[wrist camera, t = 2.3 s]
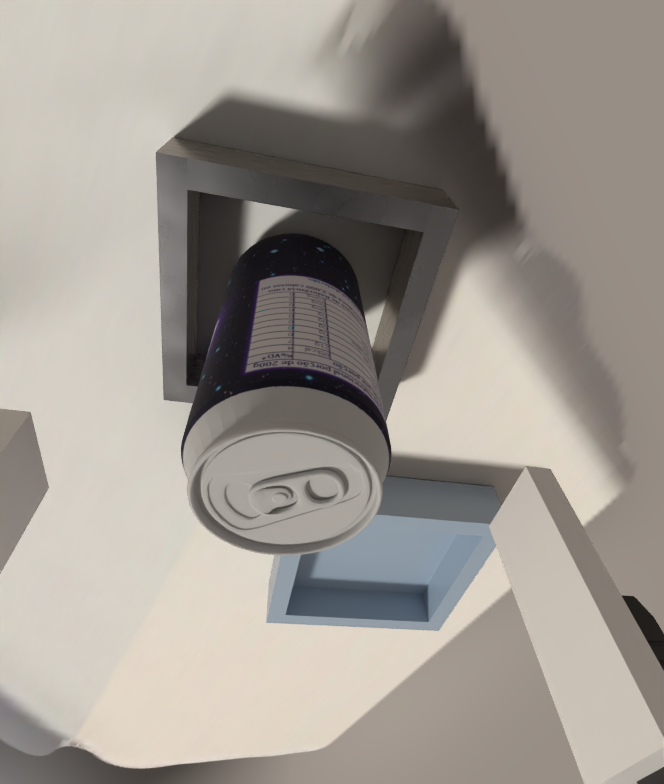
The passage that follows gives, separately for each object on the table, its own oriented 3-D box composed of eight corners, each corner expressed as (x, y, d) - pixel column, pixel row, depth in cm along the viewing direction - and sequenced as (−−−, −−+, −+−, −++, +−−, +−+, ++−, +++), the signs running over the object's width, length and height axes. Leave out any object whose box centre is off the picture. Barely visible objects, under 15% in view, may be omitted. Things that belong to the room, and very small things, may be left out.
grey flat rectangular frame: (172, 137, 17) (155, 152, 15) (442, 190, 19) (459, 210, 17) (176, 461, 28) (166, 496, 26) (351, 478, 29) (355, 512, 27)
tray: (292, 466, 28) (291, 507, 26) (493, 486, 30) (509, 525, 28) (268, 583, 36) (266, 622, 34) (430, 593, 38) (438, 630, 36)
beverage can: (210, 244, 20) (125, 445, 11) (341, 210, 19) (377, 390, 10) (255, 353, 23) (222, 578, 14) (368, 327, 23) (412, 544, 13)
